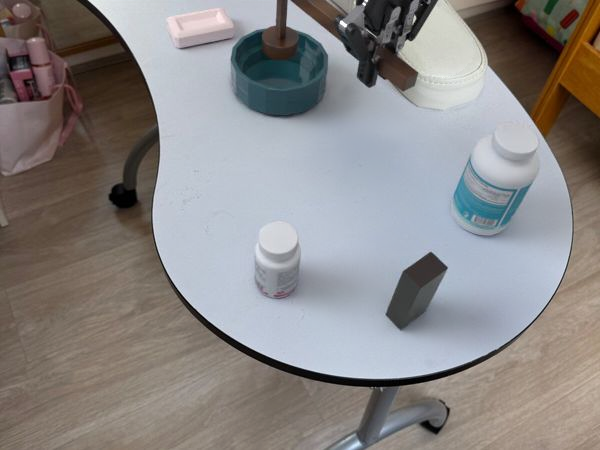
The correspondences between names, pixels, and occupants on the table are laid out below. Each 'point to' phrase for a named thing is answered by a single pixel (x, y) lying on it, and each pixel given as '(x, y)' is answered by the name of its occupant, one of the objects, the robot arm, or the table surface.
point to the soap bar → (200, 27)
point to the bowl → (278, 75)
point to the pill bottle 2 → (496, 179)
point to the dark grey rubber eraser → (415, 290)
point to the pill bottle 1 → (277, 259)
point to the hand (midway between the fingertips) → (374, 78)
